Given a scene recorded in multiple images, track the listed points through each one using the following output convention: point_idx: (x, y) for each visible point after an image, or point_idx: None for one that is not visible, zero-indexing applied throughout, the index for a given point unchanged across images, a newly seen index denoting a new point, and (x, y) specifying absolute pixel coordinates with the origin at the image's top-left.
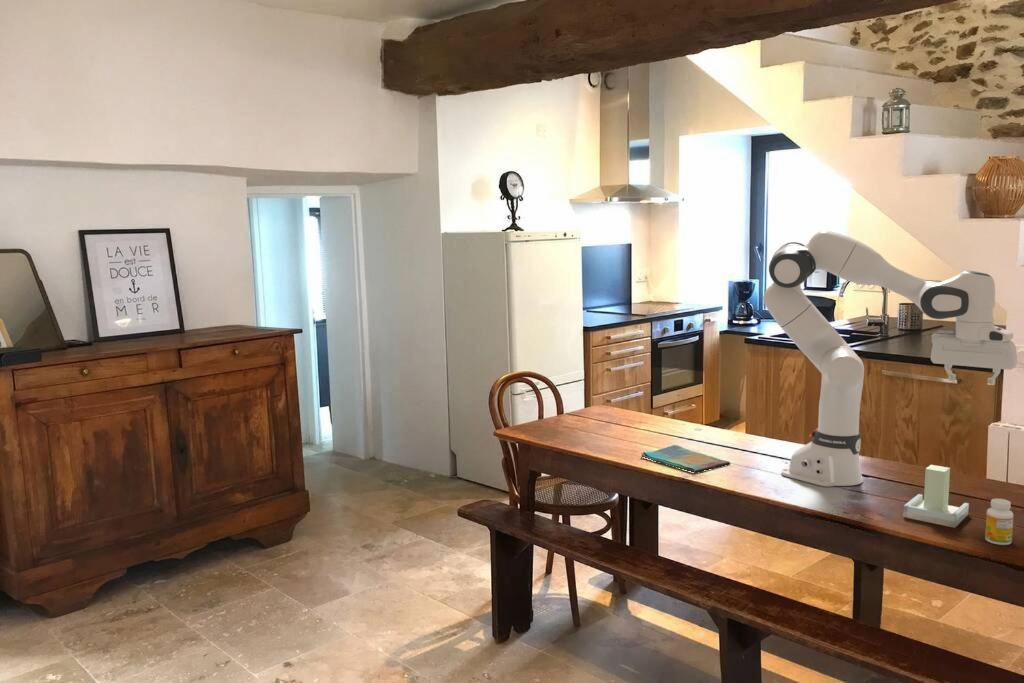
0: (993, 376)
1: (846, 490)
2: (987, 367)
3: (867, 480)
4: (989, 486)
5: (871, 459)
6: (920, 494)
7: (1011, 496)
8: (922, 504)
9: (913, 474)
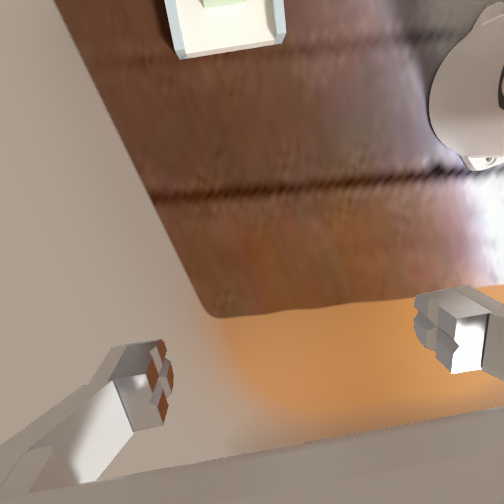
0: (75, 403)
1: (439, 23)
2: (68, 487)
3: (424, 141)
4: (236, 281)
5: None
6: (281, 32)
7: (183, 252)
8: (260, 2)
9: (366, 252)
